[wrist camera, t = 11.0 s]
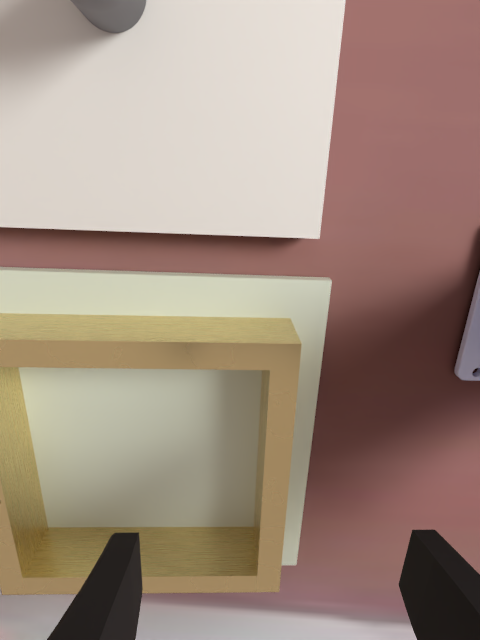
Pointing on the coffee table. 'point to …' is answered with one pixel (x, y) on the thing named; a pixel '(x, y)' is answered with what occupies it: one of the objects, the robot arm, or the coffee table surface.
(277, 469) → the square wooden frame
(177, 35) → the post stand
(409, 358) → the coffee table surface
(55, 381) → the mat
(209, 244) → the coffee table surface
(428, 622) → the robot arm
